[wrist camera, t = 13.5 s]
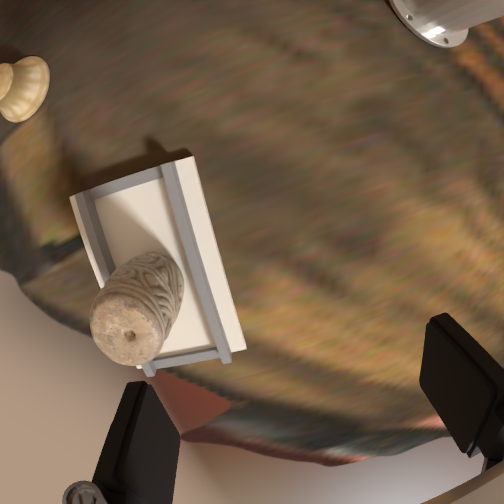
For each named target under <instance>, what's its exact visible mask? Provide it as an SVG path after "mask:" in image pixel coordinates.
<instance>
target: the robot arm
mask: <svg viewBox="0 0 504 504" xmlns="http://www.w3.org/2000/svg"><path fill="white" fill-rule="evenodd" d="M389 2H390V4H391V6H392V8H393V10H394V11H395V13H396V14H397V16H398V17H399V18H400V20H401V21H402V22H403V23H404V24H405V25H406V27H407V28H408V29H410V30H411V31H412V32H413V33H414V34H415V35H417V36H418V37H419V38H421V39H422V40H424V41H426V42H428V43H429V44H431V45H434V46H437V47H442V48H452V47H454V46H458V45H459V44H461V43H463V41H464V40H465V39H466V37H467V34H468V28H470V27H473V26H475V25H478V24H481V23H484V22H486V21H489V20H492V19H495V18H498V17H501V16H504V0H389ZM419 382H420V386H421V388H422V390H423V391H424V393H425V395H426V396H427V398H428V399H429V401H430V402H431V404H432V405H433V407H434V409H435V410H436V412H437V413H438V415H439V416H440V418H441V420H442V421H443V423H444V424H445V426H446V428H447V429H448V431H449V433H450V434H451V436H452V437H453V439H454V441H455V442H456V444H457V446H458V447H459V449H460V451H461V452H462V453H467V455H468V457H469V458H471V457H473V456H475V455H477V454H478V453H480V452H482V454H483V455H484V457H485V458H484V463H483V467H482V471H481V474H480V475H478V476H476V477H474V478H472V479H471V480H469V481H467V482H465V483H463V484H461V485H459V486H457V487H455V488H453V489H451V490H450V491H448V492H445V493H443V494H441V495H439V496H437V497H435V498H433V499H431V500H428V501H426V502H424V503H421V504H504V369H503V368H502V367H501V366H500V365H499V364H498V363H497V362H496V361H495V360H494V359H493V358H492V356H491V355H490V354H489V353H488V352H487V351H486V350H485V349H484V348H483V347H482V346H481V345H480V344H479V343H478V342H477V341H476V340H475V339H474V338H473V337H472V336H471V335H470V334H469V333H468V332H467V331H466V330H465V329H464V328H463V327H462V326H461V325H459V324H458V323H457V322H456V321H455V320H454V319H453V318H452V317H451V316H450V315H449V314H448V313H442V314H439V315H437V316H434V317H432V318H431V319H430V321H429V323H427V325H426V332H425V341H424V350H423V358H422V365H421V372H420V378H419ZM179 448H180V435H179V432H178V431H177V429H176V427H175V426H174V424H173V422H172V420H171V419H170V417H169V415H168V414H167V412H166V410H165V408H164V407H163V405H162V403H161V401H160V400H159V398H158V396H157V394H156V392H155V390H154V388H153V387H152V385H148V384H147V383H146V382H145V381H136V382H129V383H127V385H126V388H125V390H124V393H123V395H122V398H121V401H120V404H119V406H118V409H117V412H116V414H115V417H114V420H113V422H112V424H111V426H110V429H109V432H108V434H107V437H106V440H105V443H104V446H103V449H102V452H101V455H100V458H99V461H98V464H97V467H96V470H95V473H94V476H93V479H92V482H89V481H78V482H75V483H73V484H72V485H70V486H69V487H68V488H67V489H66V491H65V492H64V495H63V500H62V503H63V504H172V501H173V493H174V485H175V478H176V469H177V463H178V455H179Z"/></svg>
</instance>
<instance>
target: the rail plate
mask: <svg viewBox="0 0 504 504" xmlns="http://www.w3.org/2000/svg"><path fill="white" fill-rule="evenodd" d="M69 198H70V201H71V205H72V208H73V211H74V215H75V218H76V221H77V224H78V227H79V230H80V234H81V237H82V240H83V242H84V245H85V248H86V251H87V254H88V257H89V259H90V262H91V265H92V268H93V270H94V273H95V275H96V278H97V281H98V283H99V286H100V288H103V287H104V284H105V282H106V281H107V280H108V278H109V277H110V276H111V274H112V273H113V272H114V271H115V269H116V268H117V267H118V266H120V265H122V264H123V263H125V262H127V261H129V260H130V259H131V258H133V257H135V256H139V255H142V254H144V253H147V252H151V251H154V252H161V253H164V254H166V255H168V256H170V257H171V258H172V259H173V260H174V261H175V262H176V264H177V265H178V267H179V268H180V270H181V272H182V275H183V278H184V295H183V301H182V305H181V308H180V311H179V314H178V317H177V319H176V321H175V323H174V325H173V326H172V329H171V331H170V333H169V336H168V338H167V339H166V340H165V341H164V344H163V347H162V349H161V351H160V353H159V354H158V355H157V356H156V357H155V358H153V359H152V360H150V361H149V362H147V363H144V364H141V365H137V368H138V369H140V368H143V370H144V372H145V374H146V376H147V377H150V376H155V373H156V369H159V368H165V367H171V366H177V365H183V364H189V363H194V362H200V361H205V360H210V359H215V358H220V357H221V360H222V363H223V364H226V363H231V362H232V355H231V352H235V351H240V350H244V349H246V343H245V339H244V336H243V333H242V329H241V326H240V323H239V319H238V316H237V312H236V309H235V306H234V302H233V299H232V295H231V292H230V288H229V285H228V281H227V278H226V274H225V271H224V267H223V264H222V260H221V257H220V253H219V249H218V246H217V242H216V238H215V235H214V231H213V227H212V224H211V220H210V216H209V213H208V209H207V205H206V201H205V198H204V194H203V190H202V186H201V182H200V178H199V175H198V171H197V167H196V163H195V159H194V156H192V157H188V158H184V159H181V160H177V161H173V162H169V163H165V164H162V165H160V166H157V167H153V168H150V169H147V170H144V171H141V172H138V173H135V174H132V175H129V176H126V177H123V178H120V179H117V180H114V181H111V182H108V183H105V184H103V185H100V186H97V187H94V188H92V189H89V190H86V191H83V192H80V193H77V194H75V195H74V196H71V197H69Z"/></svg>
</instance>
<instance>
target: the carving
mask: <svg viewBox="0 0 504 504" xmlns="http://www.w3.org/2000/svg"><path fill="white" fill-rule="evenodd" d="M183 295H184V278H183V275H182V272H181V270H180V268H179V267H178V265H177V264H176V262H175V261H174V260H173V259H172V258H171V257H170V256H168V255H166V254H164V253H161V252H154V251H151V252H147V253H144V254H142V255H139V256H135V257H133V258H131V259H130V260H129V261H127V262H125V263H123V264H122V265H120V266H118V267H117V268H116V269H115V271H114V272H113V273H112V274H111V276H110V277H109V278H108V280H107V281H106V282H105V284H104V287H103V288H101V290H100V291H99V293H98V295H97V296H96V297H95V299H94V301H93V303H92V306H91V309H90V329H91V333H92V336H93V338H94V341H95V342H96V344H97V346H98V347H99V348H100V350H101V351H102V352H103V353H104V354H106V355H107V356H108V357H109V358H110V359H111V360H113V361H115V362H117V363H119V364H123V365H129V366H137V365H141V364H144V363H147V362H149V361H150V360H152V359H153V358H155V357H156V356H157V355H158V354H159V353H160V351H161V349H162V347H163V344H164V341H165V340H166V339H167V338H168V336H169V333H170V331H171V329H172V326H173V325H174V323H175V321H176V319H177V317H178V314H179V311H180V308H181V305H182V301H183Z"/></svg>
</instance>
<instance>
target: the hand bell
mask: <svg viewBox="0 0 504 504" xmlns="http://www.w3.org/2000/svg"><path fill="white" fill-rule="evenodd" d="M49 82H50V72H49V68H48V65H47V63H46V62H45V61H44V60H43V59H42V58H40V57H38V56H29V57H26V58H23V59H21V60H19V61H18V62H16V63H15V64H8V63H3V64H0V111H1V113H2V115H3V116H4V117H5V118H6V119H7V120H9V121H11V122H21V121H24V120H26V119H28V118H29V117H31V116H32V115H33V114H34V113H35V112H36V111H37V110H38V108H39V107H40V106H41V104H42V102H43V101H44V99H45V96H46V94H47V91H48V87H49Z"/></svg>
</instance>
